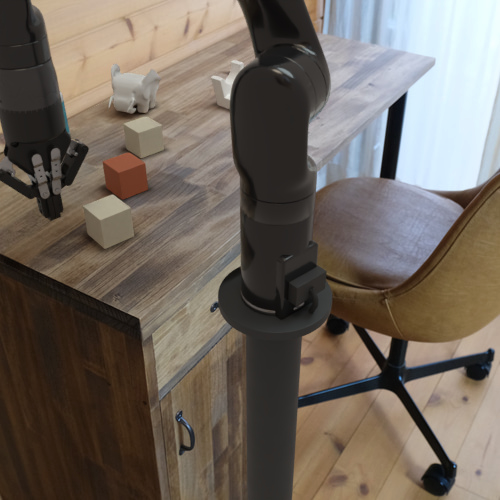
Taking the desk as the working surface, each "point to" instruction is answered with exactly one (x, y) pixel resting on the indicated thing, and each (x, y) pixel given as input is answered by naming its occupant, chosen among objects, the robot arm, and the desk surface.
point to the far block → (143, 136)
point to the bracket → (226, 84)
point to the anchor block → (125, 175)
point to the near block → (108, 221)
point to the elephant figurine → (133, 90)
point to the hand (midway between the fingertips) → (53, 216)
